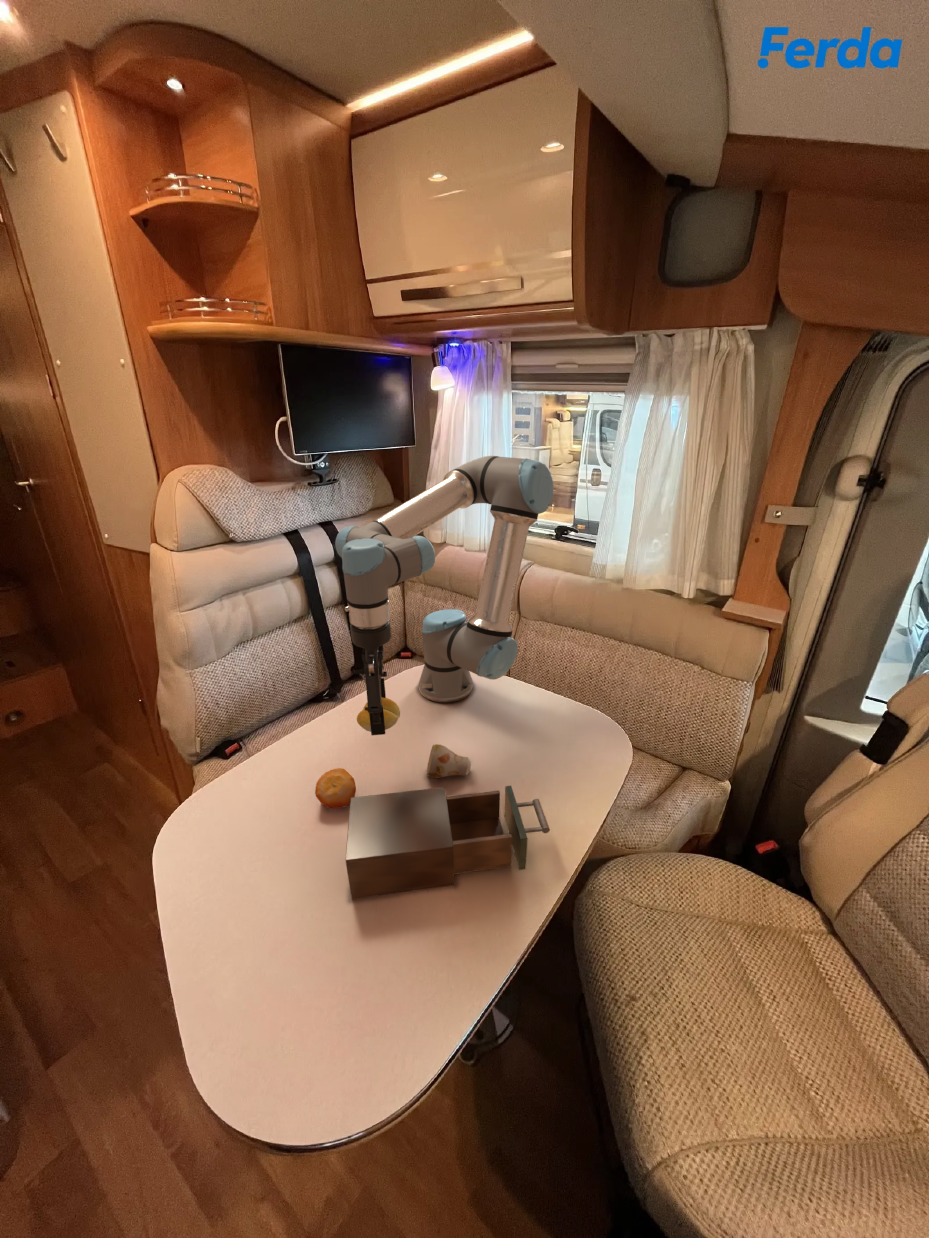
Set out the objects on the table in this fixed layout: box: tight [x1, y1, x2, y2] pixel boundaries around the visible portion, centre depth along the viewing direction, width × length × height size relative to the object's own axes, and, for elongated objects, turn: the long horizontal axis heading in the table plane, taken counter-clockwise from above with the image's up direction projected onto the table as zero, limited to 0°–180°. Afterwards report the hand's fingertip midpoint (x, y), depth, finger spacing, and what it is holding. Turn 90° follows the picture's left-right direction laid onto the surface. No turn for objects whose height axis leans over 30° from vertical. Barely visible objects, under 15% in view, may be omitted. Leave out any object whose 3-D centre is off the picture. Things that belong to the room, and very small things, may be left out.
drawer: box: [446, 785, 551, 875], centre depth 92 cm, size 21×12×8 cm, turn 98°
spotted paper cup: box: [426, 743, 472, 779], centre depth 110 cm, size 8×10×10 cm
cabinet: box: [345, 786, 455, 900], centre depth 90 cm, size 18×14×10 cm
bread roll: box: [356, 697, 401, 733], centre depth 103 cm, size 8×9×4 cm
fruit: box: [314, 767, 357, 810], centre depth 104 cm, size 8×8×8 cm
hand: (379, 718), depth 104 cm, fingers closed on bread roll, 9 cm apart
